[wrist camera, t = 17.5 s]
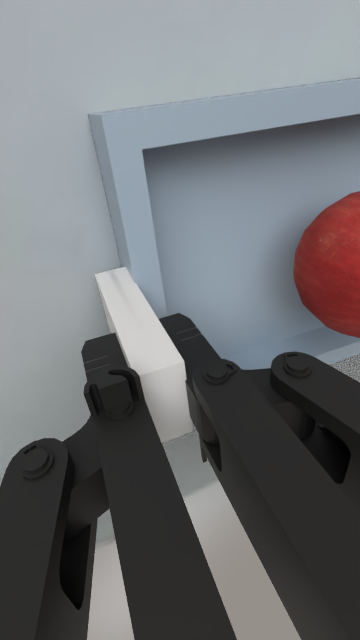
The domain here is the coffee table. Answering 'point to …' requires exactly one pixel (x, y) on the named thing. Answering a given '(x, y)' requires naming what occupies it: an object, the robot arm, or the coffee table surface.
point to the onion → (332, 266)
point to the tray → (231, 209)
